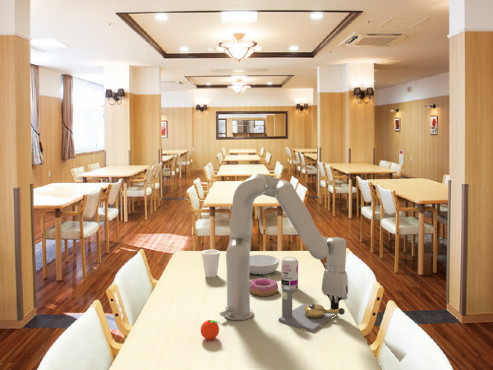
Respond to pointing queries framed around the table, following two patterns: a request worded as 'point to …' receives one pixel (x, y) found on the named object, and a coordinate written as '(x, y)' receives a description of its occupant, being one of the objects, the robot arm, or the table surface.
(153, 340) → the table surface
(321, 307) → the gold pan with handle
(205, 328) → the clementine
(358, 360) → the table surface
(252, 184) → the robot arm
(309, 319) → the stand
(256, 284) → the donut
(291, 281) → the white soda can
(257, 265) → the serving bowl
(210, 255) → the foam cup
